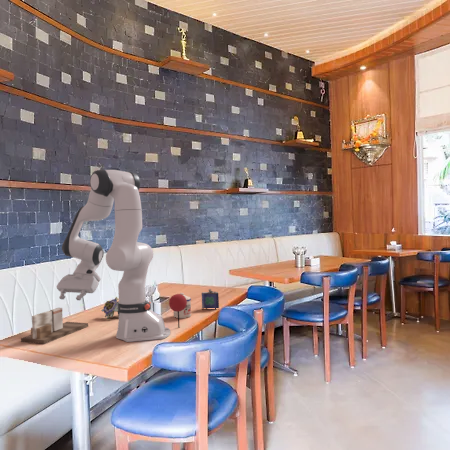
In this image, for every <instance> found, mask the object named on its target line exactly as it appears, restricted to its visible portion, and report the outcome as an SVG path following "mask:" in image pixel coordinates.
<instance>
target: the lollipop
mask: <svg viewBox="0 0 450 450" xmlns="http://www.w3.org/2000/svg"><path fill="white" fill-rule="evenodd" d="M186 305H187V300H186V298H185V297H184V296H183V295H181V294H180V293H177V294H176V293H175V294H173V295H171V296H170V298H169V300H168V306H169V307H170V309H171V310H172V311H173V312H174V311H176V312H178V318H177V323H178V324H177V326H178V327H177V328H180V318H179V311H182V310H184V309H185V307H186Z"/></svg>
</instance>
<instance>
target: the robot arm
mask: <svg viewBox="0 0 450 450" xmlns="http://www.w3.org/2000/svg"><path fill="white" fill-rule="evenodd" d="M89 184H90V191H89V195H88V197H87V198H88V199H87V202H86V204H85V205H84V206H80V207H79V209H78V211H77V212H76V214H75V216H74V218H73V220H72V223H71V225H70V227H69V230H68V232H67V235H66V237H65V238H64V240H63V242H62V245H61V250H62V252H63V254H64V256H66V257H69V258H74V259H78V260H80V263H78V265H77V266H76V267H75V269H74V271H73V273H72V274H69V273H68V274H67V275H64V276H62V278H61V279H60V280H59V282H58V283H57V285H56V289H57V290H58V291H59V292H60V296H59V299H60V300H65V298H66V295H65V294H66V293H76V294H77V293H79V295H76V297H75V299H76V300H77V301H81V300H82V298H83V297H85V296H86V295H87V294H94V293H95V292H96V291H97V289H98V286H99V283H100V281H101V279H102V278H101V277H100V275H98V273H97V272H96V271H97V269H98V268H99V266H100V264H101V262H102V260H103V257H104V255H105V263H106V264H107V266H108V267H109V269H111V270H113V271H117V272H123V273H122V277H121V279H120V280H119V282H118V285H117V287H118V289H117V291H118V302H119V303H118V312H117V317H118V322H117V331H116V334H115V337H116V338H117V340H121V341H124V342H127V343H130V342H140V341H142V342H143V341H152V340H153V341H154V340H162V339H165V338H167V337H169V336H170V335H171V329H170V328H169V327H166V325H165V321H164V318H163V316H160V315H159V314H158V313H156V312H155V311H154V310H152V309H151V307H152V305H151V304H152V302H151V301H147V300H146V280H147V276H148V275H147V274H148V271H149V266H150V263H151V262H152V260H153V258H154V251H153V248H152V246H151V245H149V244H148V243H144V242H139V241H138V238H139V235H140V233H141V231H142V230H143V212H142V211H143V210H142V201H141V196H140V188H141V181H140V177H139V175H138V174H137V173H134V172H132V171H124V170H117V169H103V168H102V169H97V170H94V171H93V172H92V174H91V175H90V178H89ZM113 205H114V225H115V226H114V228H115V229H114V234H113V235H114V236H113V239H112V243H111V245H110V247H109V249H108V250H107V251H106V254H105V253H104V249H103V247H102V246H101V244H99V243H98V242H94V241H91V240H88V239H84V238H81V237H80V236H79V234H80V231H81V229H82V227H83V224H85V223H84V222H92V221H93V222H95V221H102V220H105V219H107V218H108V217H109V216H111V215H110V214H111V212H112V210H113Z"/></svg>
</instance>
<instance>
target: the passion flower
mask: <svg viewBox="0 0 450 450" xmlns="http://www.w3.org/2000/svg"><path fill="white" fill-rule="evenodd" d="M118 303H119V297H117V296H115V298H114V299H110V300H106V302H105V303H104V306H103V309H101V312H104V313H105V315H104V317H105V318H106V320H109V319H110V317H111V318H113V316H114V315H115V313H116V312H117V313H118Z"/></svg>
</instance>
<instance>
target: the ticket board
mask: <svg viewBox="0 0 450 450" xmlns="http://www.w3.org/2000/svg"><path fill="white" fill-rule="evenodd" d="M88 327H89V322H77V321H66V322H63V328H62V329H59V330H56V331H53V311H52V309H50V310H47V311H44V312H41V313H36V314H33V315H31V328H30V334H29V335H26V336H23V337H20V342H21V343H29V344H36V345H37V344H39V345H45V344H48V343H50V342H53V341H56V340H58V339H61V338H63V337H66V336H67V335H71V334H72V333H75V332H78V331H81V330H83V329H85V328H88Z"/></svg>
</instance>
